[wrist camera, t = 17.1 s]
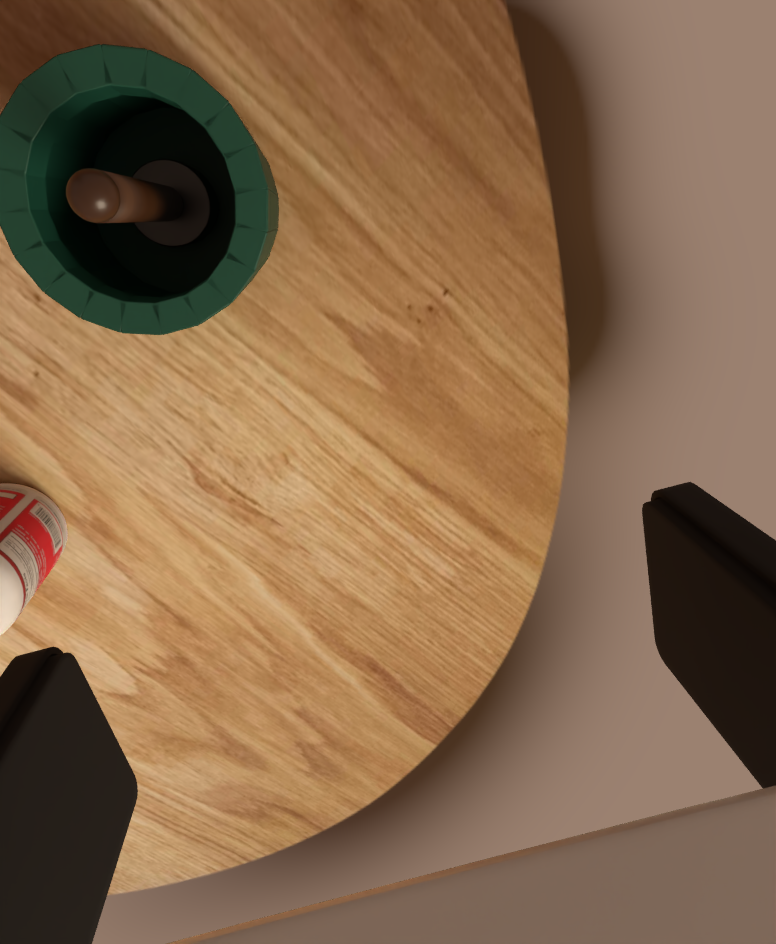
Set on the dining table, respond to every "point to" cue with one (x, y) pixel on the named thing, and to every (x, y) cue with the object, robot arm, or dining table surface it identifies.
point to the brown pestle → (148, 201)
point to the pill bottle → (26, 546)
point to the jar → (122, 152)
